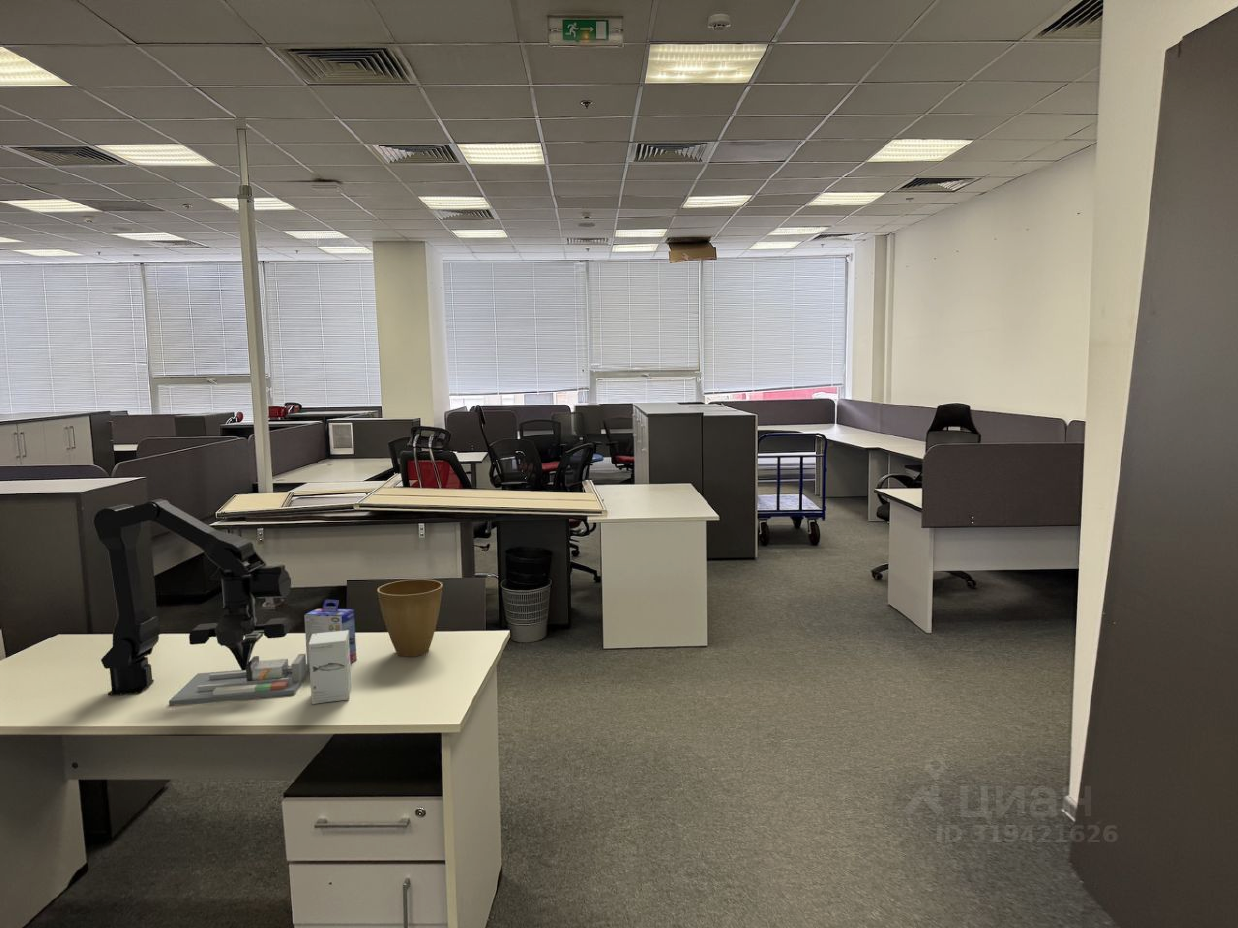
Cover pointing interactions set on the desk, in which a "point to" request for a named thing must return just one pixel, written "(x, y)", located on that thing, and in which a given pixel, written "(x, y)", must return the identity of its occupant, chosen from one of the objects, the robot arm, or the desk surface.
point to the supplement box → (330, 666)
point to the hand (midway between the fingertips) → (244, 669)
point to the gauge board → (240, 685)
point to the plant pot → (411, 614)
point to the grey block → (266, 669)
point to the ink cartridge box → (331, 624)
